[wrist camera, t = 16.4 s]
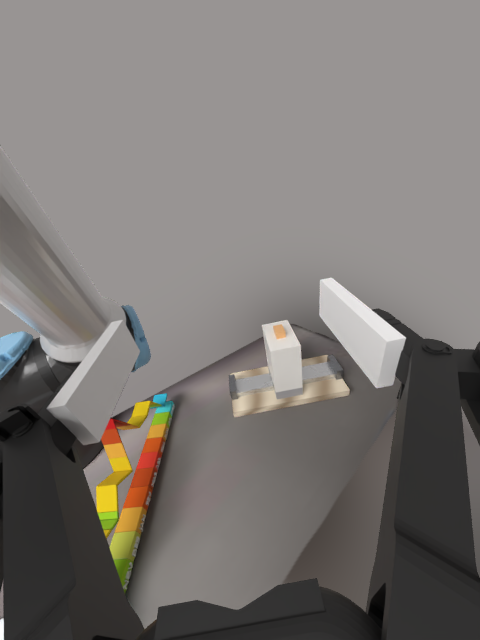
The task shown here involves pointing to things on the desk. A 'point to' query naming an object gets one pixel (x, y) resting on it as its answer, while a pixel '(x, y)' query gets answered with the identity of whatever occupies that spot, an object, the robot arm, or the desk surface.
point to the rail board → (270, 402)
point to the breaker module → (283, 359)
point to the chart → (141, 485)
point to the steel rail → (265, 382)
